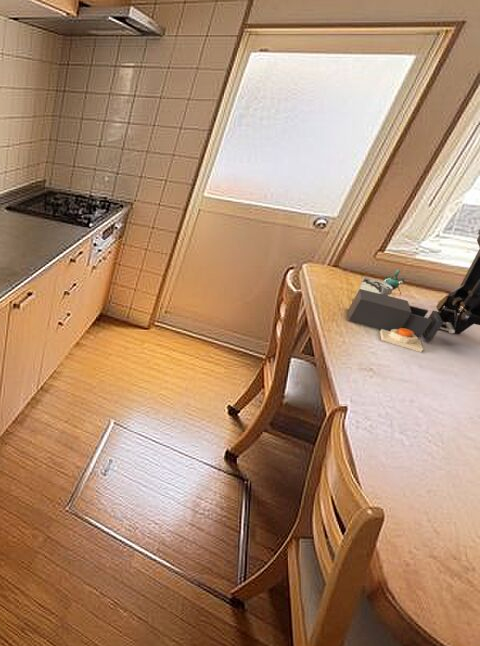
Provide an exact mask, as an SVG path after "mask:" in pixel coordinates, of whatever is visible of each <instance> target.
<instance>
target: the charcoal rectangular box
mask: <svg viewBox="0 0 480 646" xmlns="http://www.w3.org/2000/svg"><path fill="white" fill-rule="evenodd" d="M358 290H359V291H358ZM358 290H357V292H358V293H357V292H356V294H357V295H356V294H355V295H354V298H353V300H352V302H351V304H350V305H349V307H348V309H347V319H348V320H347V321H348V322H351V323H354V324H358V325H361V326H364V327H368V328H372V329H375V330H378V331H381V329H384V330H387V331H391V330H392V329H398V330H399V329H400V328H402V327H403V325H404V324H405V322H406V321H407V319H408V318H409V316H410V314H411V313H412V312H411V309H410V306H411V305H410V303H409V300H405V299H402V298H397V297H394V296H390V295H388V296H386V295H382V294H378V293H374V292H370V291H366V290H362V289H359V288H358ZM409 305H410V306H409Z"/></svg>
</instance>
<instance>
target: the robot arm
mask: <svg viewBox="0 0 480 646" xmlns="http://www.w3.org/2000/svg"><path fill="white" fill-rule="evenodd" d="M477 235H478V237H477V239H476V242H477V245H478V247H479V249H478V251H477V253H476V255H475V257H474V258H473V260H472V262H471V264H470V266H469V268H468V270H467V271H466V274H465V275H464V277H463V279H462V281H461V283H460V286H459V287H457V288H455V289H453V290H451V291H449V293H448V294H447V295H445V296H444V297H443V298H441V299H439V301H438V303H437V304H436V306H435V308H436V311H438V313H439V315H440V317H441V319H442V321H443V322H445V323H447V322H450V323H451V324H452V326H453V328H454V330H455V332H454V333H453V334H456V335H460V334H461V333H463V332H465V330H468V328H470V327H472V326H473V325H476V326H480V229H479V230H478V231H477ZM441 327H443V328H447V327H446V325H444V324H442V325H441Z"/></svg>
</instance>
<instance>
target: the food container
mask: <svg viewBox="0 0 480 646" xmlns="http://www.w3.org/2000/svg"><path fill="white" fill-rule="evenodd" d="M359 289H362V290H366V291H370V292H374V293H378V294H382V295H386V296H387V295H388V296H390V295H392V293H393V289H392V286H390V285H389V284H386V283H384V282H383V281H382V280H378V279H374V278H370V277H363V278H362V279H361V283H360V285H359V288H358V289H357V292H356V294H355V296H356V295H357V293H358V291H359Z"/></svg>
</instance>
